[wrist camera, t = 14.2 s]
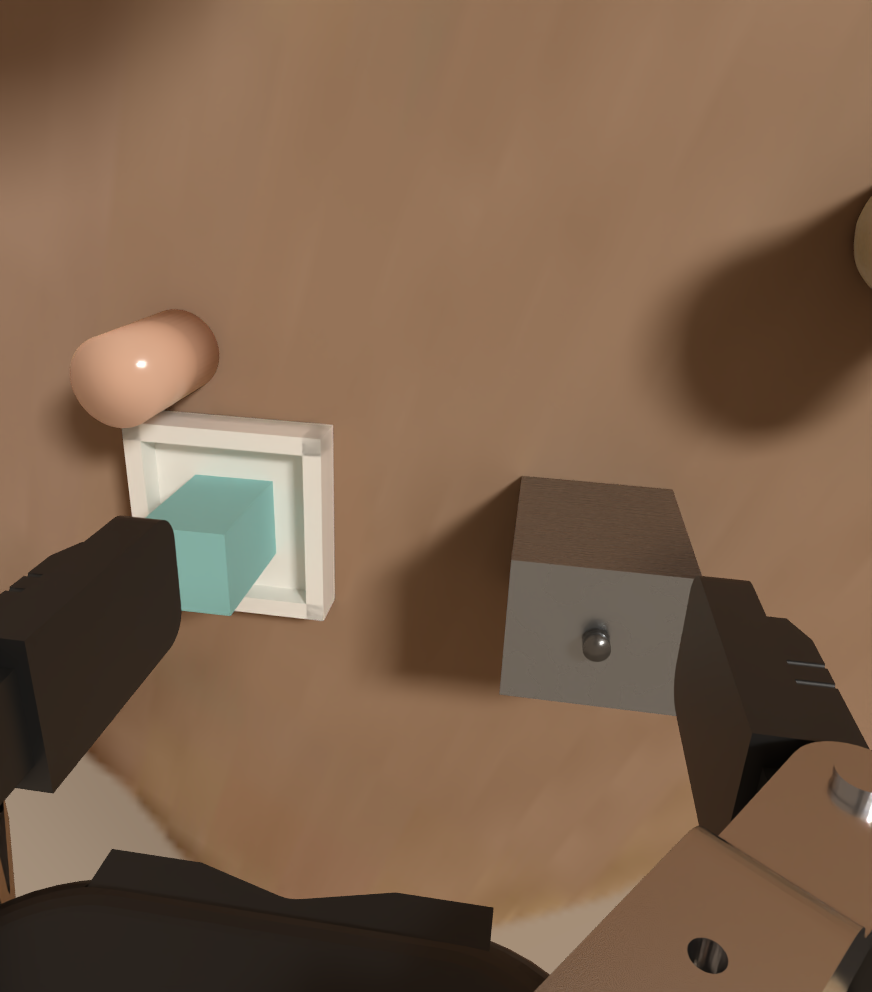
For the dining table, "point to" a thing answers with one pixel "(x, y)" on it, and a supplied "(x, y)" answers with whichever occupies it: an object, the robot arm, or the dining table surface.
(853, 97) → the dining table surface
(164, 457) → the tray
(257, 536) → the teal block
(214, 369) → the peach capsule
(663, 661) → the box
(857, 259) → the flower pot
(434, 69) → the dining table surface
